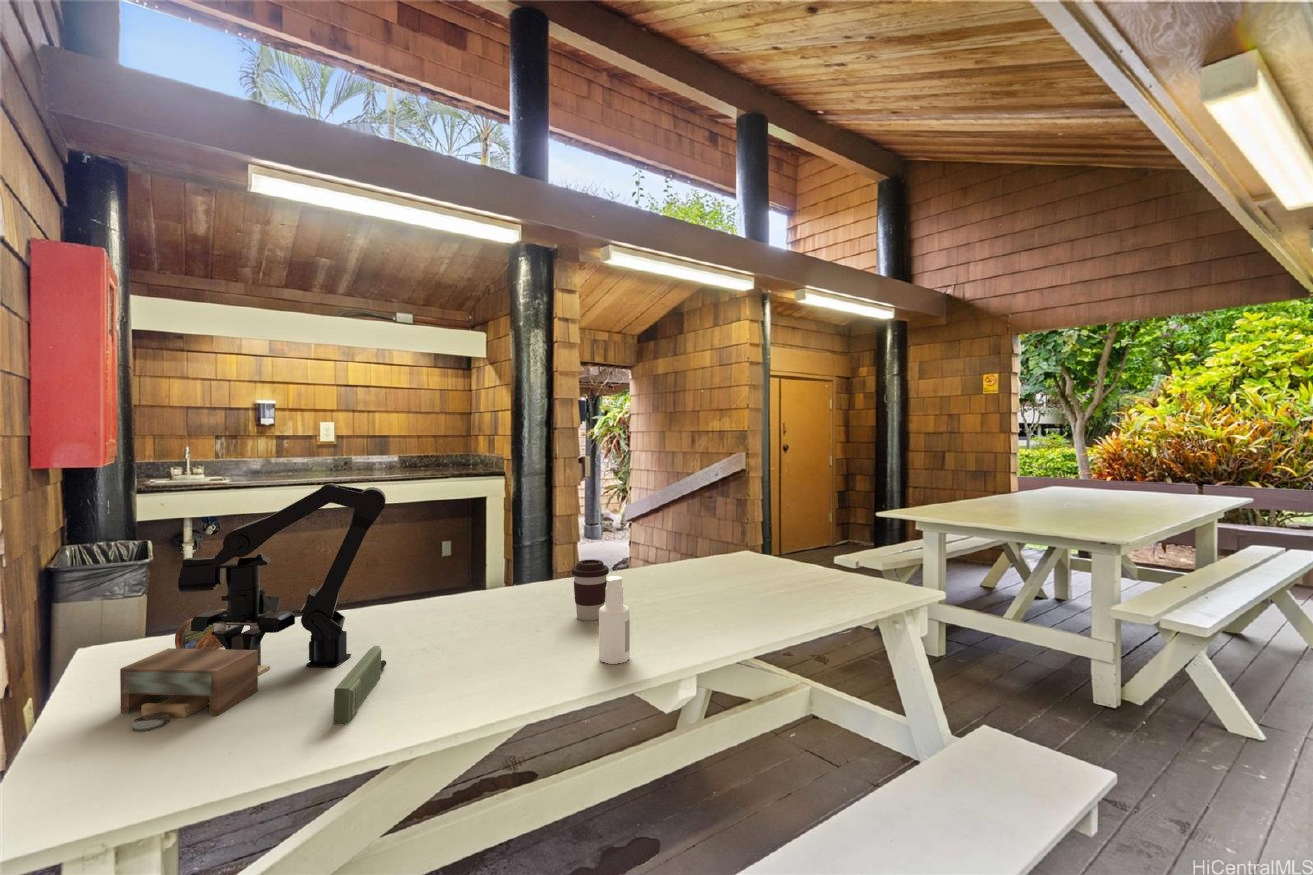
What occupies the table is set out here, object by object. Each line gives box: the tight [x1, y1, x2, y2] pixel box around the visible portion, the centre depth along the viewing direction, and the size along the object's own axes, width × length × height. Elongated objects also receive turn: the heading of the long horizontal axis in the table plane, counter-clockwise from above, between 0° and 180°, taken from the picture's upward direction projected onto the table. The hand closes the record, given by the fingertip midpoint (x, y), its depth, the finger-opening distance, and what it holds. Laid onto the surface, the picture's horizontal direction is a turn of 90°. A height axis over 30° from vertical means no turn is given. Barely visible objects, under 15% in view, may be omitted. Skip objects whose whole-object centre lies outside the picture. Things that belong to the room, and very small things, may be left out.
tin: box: [174, 608, 227, 649], centre depth 139 cm, size 15×3×8 cm, turn 168°
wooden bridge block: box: [119, 647, 259, 717], centre depth 112 cm, size 18×10×8 cm, turn 87°
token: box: [131, 712, 171, 733], centre depth 103 cm, size 5×5×1 cm
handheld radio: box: [332, 645, 387, 725], centre depth 116 cm, size 7×3×25 cm
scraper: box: [140, 629, 271, 719], centre depth 117 cm, size 8×22×8 cm, turn 177°
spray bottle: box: [598, 575, 631, 665], centre depth 133 cm, size 7×7×18 cm
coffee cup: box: [571, 559, 610, 622], centre depth 162 cm, size 10×10×15 cm
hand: (243, 662), depth 125 cm, fingers closed on scraper, 2 cm apart
